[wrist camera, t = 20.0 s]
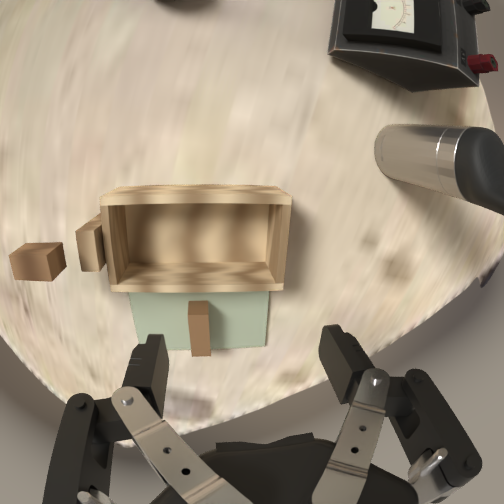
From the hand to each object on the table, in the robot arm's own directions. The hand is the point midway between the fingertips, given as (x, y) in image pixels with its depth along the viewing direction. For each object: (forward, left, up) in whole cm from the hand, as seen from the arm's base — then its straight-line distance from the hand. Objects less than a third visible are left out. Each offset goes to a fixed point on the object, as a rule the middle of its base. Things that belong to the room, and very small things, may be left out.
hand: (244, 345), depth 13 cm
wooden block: (+22, +2, -18) cm, 28 cm away
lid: (+3, +17, -28) cm, 33 cm away
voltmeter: (-23, -31, -28) cm, 48 cm away
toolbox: (+5, +2, -28) cm, 28 cm away
